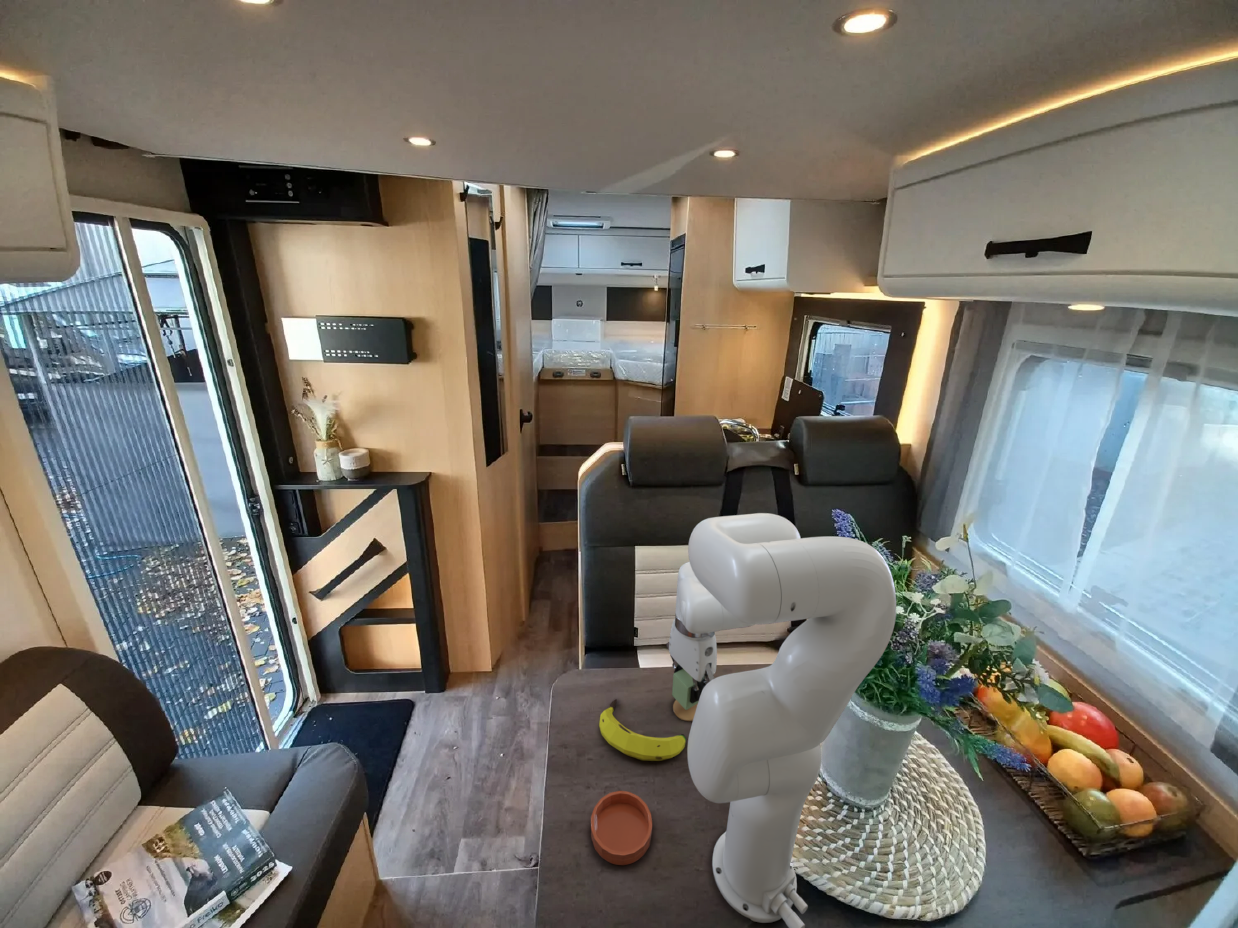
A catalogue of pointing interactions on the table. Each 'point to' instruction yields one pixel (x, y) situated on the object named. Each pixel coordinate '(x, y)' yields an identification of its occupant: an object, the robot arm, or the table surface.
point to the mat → (684, 711)
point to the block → (683, 688)
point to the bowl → (621, 827)
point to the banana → (638, 740)
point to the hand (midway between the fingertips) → (688, 690)
